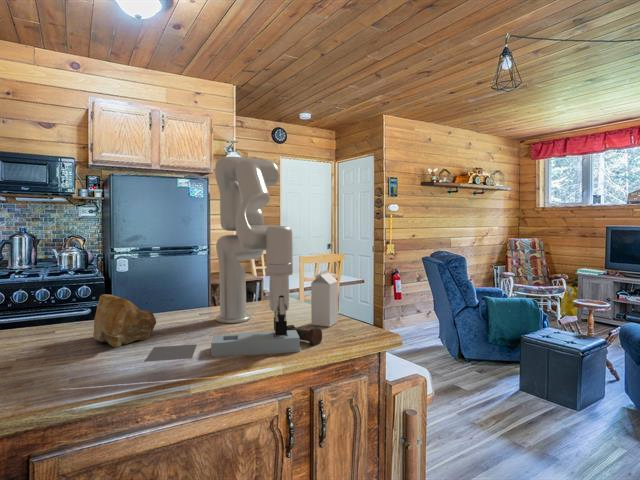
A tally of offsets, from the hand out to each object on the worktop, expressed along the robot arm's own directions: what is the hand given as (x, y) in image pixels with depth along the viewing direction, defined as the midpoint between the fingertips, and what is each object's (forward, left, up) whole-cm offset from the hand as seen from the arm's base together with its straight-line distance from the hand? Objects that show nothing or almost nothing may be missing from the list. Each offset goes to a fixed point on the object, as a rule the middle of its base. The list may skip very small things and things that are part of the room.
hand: (280, 332), depth 115 cm
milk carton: (-24, +18, -5) cm, 30 cm away
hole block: (0, -7, -5) cm, 8 cm away
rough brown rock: (-18, -46, -5) cm, 50 cm away
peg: (0, 0, -5) cm, 5 cm away
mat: (-2, -30, -5) cm, 30 cm away
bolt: (-7, +6, -5) cm, 10 cm away
